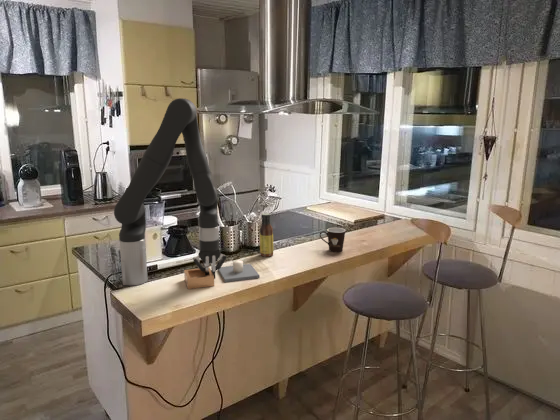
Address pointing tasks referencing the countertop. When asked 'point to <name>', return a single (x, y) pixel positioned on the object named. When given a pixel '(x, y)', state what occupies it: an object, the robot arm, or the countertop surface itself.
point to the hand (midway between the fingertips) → (210, 280)
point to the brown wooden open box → (198, 278)
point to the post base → (239, 276)
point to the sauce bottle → (266, 236)
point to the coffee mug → (335, 239)
